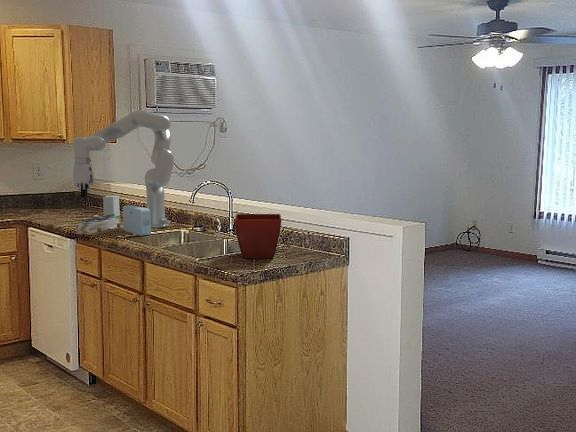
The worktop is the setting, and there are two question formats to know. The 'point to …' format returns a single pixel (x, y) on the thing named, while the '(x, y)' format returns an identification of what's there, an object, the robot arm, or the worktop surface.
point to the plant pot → (258, 234)
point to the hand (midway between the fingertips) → (84, 196)
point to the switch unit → (99, 227)
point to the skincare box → (111, 206)
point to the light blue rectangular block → (137, 220)
